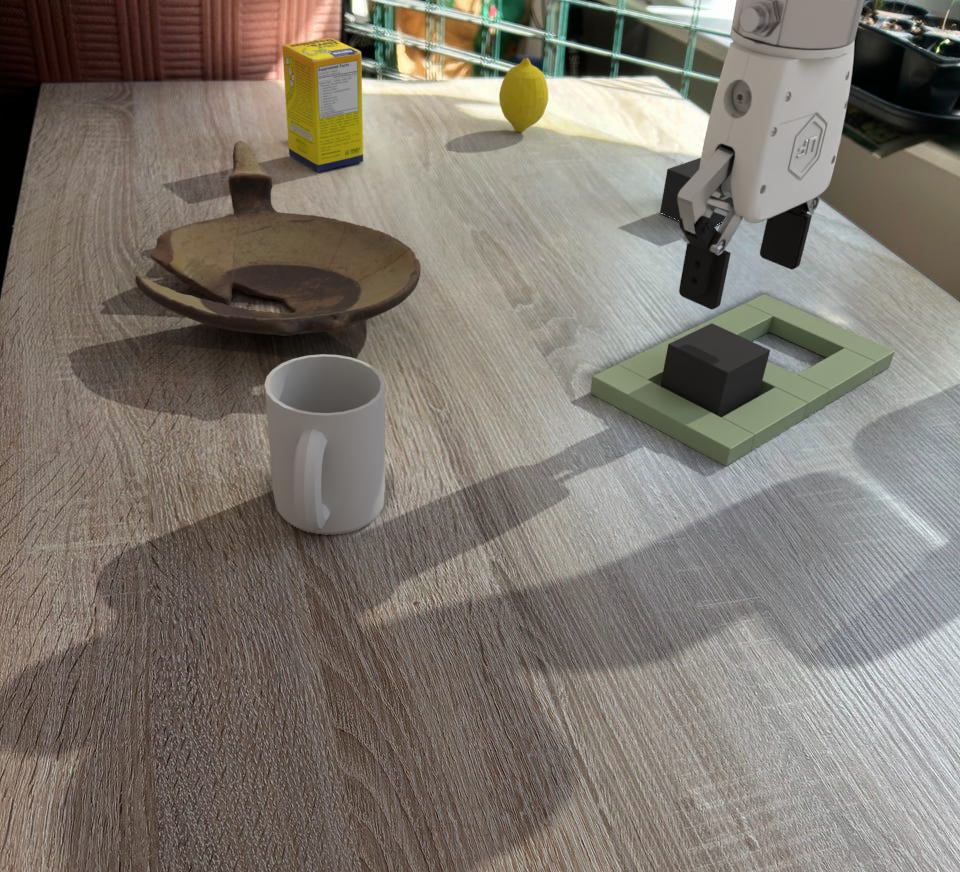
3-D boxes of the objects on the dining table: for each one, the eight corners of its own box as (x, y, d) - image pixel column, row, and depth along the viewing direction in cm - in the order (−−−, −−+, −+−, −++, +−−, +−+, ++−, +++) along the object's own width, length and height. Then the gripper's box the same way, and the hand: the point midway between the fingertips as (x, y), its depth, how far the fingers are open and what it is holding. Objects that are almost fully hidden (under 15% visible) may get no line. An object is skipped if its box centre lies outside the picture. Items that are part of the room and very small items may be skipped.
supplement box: (333, 145, 121) (329, 35, 114) (364, 163, 118) (363, 51, 110) (286, 155, 118) (280, 43, 111) (317, 173, 115) (313, 59, 107)
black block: (700, 374, 88) (711, 322, 85) (757, 402, 86) (770, 349, 82) (657, 396, 85) (667, 343, 82) (714, 426, 83) (727, 372, 79)
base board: (760, 309, 98) (764, 293, 97) (889, 367, 91) (895, 350, 90) (589, 393, 85) (592, 375, 84) (725, 466, 79) (730, 449, 78)
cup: (393, 479, 75) (394, 361, 69) (366, 571, 68) (364, 447, 62) (289, 467, 75) (280, 348, 69) (250, 557, 68) (237, 433, 62)
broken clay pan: (107, 378, 82) (89, 280, 77) (199, 219, 104) (190, 135, 99) (405, 400, 83) (406, 304, 77) (434, 237, 105) (437, 154, 99)
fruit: (519, 143, 125) (526, 67, 120) (487, 129, 128) (491, 54, 123) (554, 134, 128) (562, 59, 123) (521, 121, 131) (527, 47, 125)
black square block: (692, 201, 115) (700, 157, 112) (734, 218, 113) (744, 173, 110) (659, 213, 112) (667, 168, 109) (702, 231, 110) (711, 185, 107)
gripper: (766, 56, 61) (709, 338, 73) (922, 7, 70) (849, 265, 82) (660, 25, 65) (622, 298, 76) (821, -18, 74) (765, 233, 86)
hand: (739, 281), depth 79 cm, fingers open, 9 cm apart
